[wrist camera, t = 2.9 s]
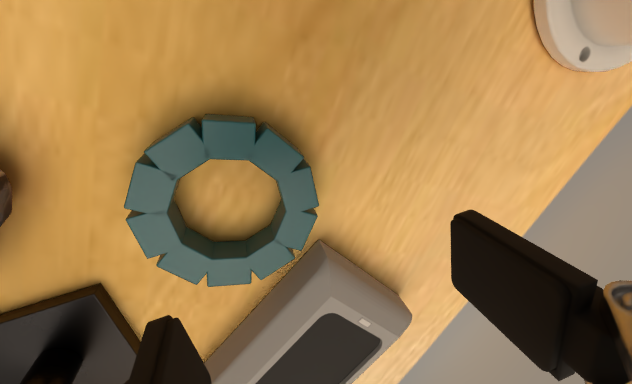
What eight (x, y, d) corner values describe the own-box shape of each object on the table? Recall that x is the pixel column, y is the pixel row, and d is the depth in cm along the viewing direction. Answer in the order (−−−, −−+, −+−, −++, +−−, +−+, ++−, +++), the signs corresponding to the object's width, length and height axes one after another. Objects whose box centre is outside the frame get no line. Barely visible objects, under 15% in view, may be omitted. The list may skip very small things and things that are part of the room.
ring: (288, 93, 17) (294, 96, 15) (322, 241, 21) (331, 257, 19) (102, 139, 16) (85, 148, 14) (180, 287, 20) (175, 309, 18)
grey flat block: (181, 431, 20) (334, 271, 18) (189, 379, 23) (318, 239, 21) (289, 457, 24) (423, 329, 22) (283, 410, 27) (398, 295, 25)
